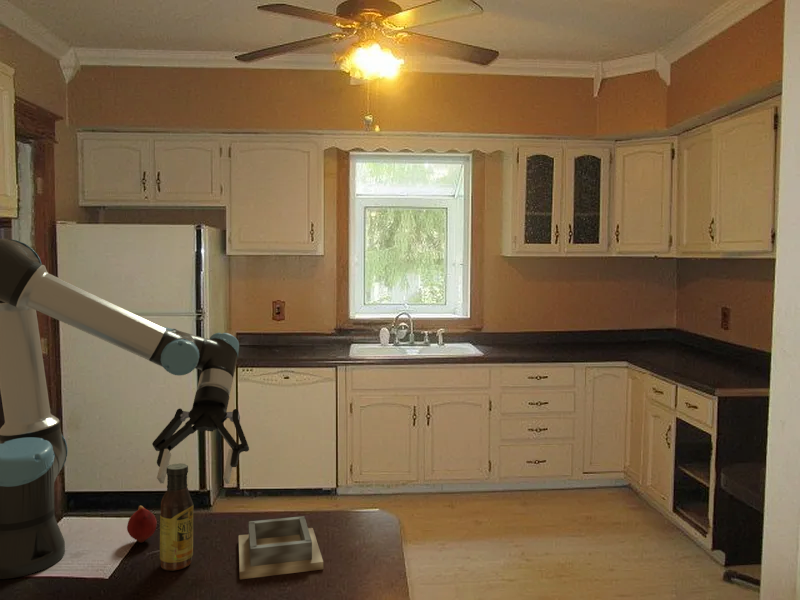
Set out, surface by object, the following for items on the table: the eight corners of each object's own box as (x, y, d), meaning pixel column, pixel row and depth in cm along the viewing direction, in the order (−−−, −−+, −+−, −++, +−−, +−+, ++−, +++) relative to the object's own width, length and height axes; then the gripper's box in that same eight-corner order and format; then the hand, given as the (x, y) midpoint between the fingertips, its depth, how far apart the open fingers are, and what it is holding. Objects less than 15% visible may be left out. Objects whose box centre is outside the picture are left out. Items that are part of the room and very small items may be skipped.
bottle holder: (239, 579, 115) (239, 553, 115) (238, 542, 131) (238, 519, 130) (323, 569, 120) (323, 544, 119) (312, 534, 135) (312, 512, 135)
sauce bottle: (182, 574, 117) (181, 473, 116) (153, 570, 118) (152, 470, 117) (199, 558, 123) (199, 462, 122) (172, 555, 125) (171, 460, 123)
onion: (157, 534, 134) (157, 499, 133) (155, 546, 128) (155, 509, 128) (128, 537, 132) (128, 502, 131) (125, 549, 126) (125, 512, 126)
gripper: (269, 402, 143) (256, 488, 129) (163, 401, 142) (138, 488, 128) (265, 384, 137) (250, 473, 123) (154, 383, 136) (127, 472, 122)
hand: (193, 480), depth 126 cm, fingers open, 13 cm apart
